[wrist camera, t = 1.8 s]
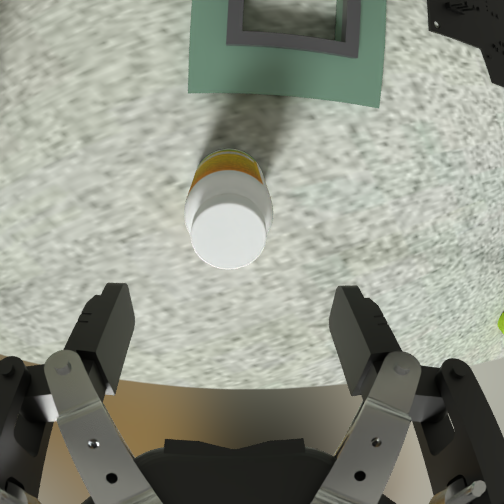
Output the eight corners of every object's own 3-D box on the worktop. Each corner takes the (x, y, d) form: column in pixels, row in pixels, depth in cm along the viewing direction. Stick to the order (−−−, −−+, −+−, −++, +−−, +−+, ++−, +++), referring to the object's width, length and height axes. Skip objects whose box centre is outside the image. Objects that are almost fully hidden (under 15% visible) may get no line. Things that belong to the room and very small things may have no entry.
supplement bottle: (181, 168, 24) (156, 221, 16) (242, 135, 23) (250, 168, 15) (216, 222, 26) (211, 295, 18) (274, 192, 25) (297, 254, 17)
